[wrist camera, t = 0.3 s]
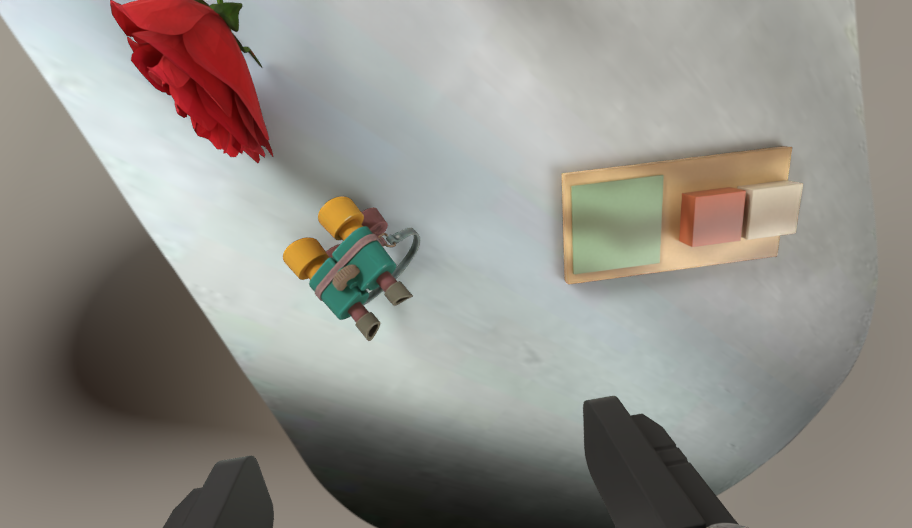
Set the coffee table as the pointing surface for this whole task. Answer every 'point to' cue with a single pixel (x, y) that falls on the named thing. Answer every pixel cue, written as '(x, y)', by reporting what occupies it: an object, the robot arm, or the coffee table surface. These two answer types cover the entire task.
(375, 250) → the binoculars
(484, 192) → the coffee table surface
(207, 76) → the flower
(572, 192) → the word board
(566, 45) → the coffee table surface
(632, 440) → the robot arm
